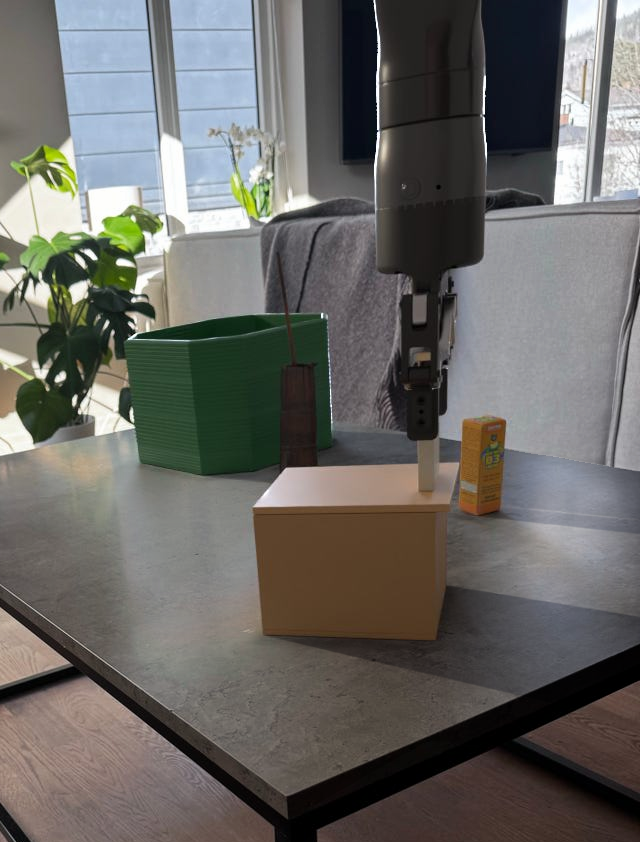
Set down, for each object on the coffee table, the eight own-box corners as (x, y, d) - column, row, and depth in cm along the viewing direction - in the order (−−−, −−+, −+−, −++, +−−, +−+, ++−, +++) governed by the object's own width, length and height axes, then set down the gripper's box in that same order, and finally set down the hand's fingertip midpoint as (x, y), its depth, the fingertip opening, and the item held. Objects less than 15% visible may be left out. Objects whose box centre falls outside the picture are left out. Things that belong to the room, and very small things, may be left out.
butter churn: (359, 476, 118) (351, 242, 107) (305, 494, 114) (291, 252, 102) (309, 467, 125) (297, 247, 114) (256, 484, 121) (239, 256, 109)
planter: (224, 480, 124) (211, 342, 117) (120, 458, 144) (103, 339, 137) (358, 439, 137) (353, 311, 130) (245, 424, 157) (236, 313, 150)
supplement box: (478, 517, 98) (480, 423, 94) (457, 510, 101) (459, 419, 97) (504, 510, 99) (507, 417, 95) (482, 503, 102) (484, 413, 98)
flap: (459, 469, 77) (460, 412, 76) (449, 511, 67) (450, 447, 65) (286, 474, 83) (282, 421, 81) (252, 514, 73) (247, 455, 71)
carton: (446, 584, 82) (447, 469, 78) (435, 640, 72) (435, 512, 68) (293, 582, 87) (286, 474, 83) (262, 634, 77) (252, 515, 73)
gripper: (481, 191, 57) (474, 447, 64) (489, 189, 69) (482, 405, 76) (360, 206, 60) (365, 451, 66) (388, 202, 72) (390, 409, 78)
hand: (428, 426), depth 71 cm, fingers open, 8 cm apart
